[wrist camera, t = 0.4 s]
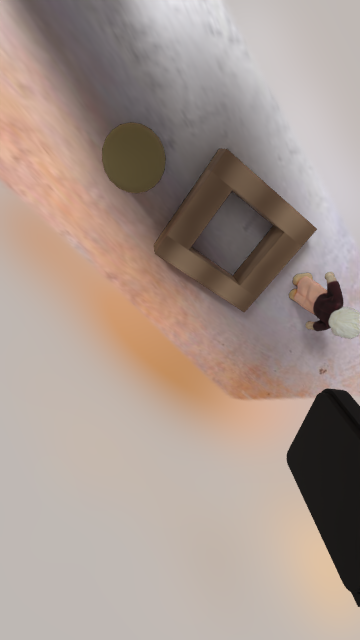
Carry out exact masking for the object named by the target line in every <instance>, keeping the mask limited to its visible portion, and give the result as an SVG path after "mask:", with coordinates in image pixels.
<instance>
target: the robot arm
mask: <svg viewBox="0 0 360 640" xmlns="http://www.w3.org/2000/svg"><path fill="white" fill-rule="evenodd" d="M287 463H288V465H289V468H290V470H291V472H292V474H293V476H294V479H295V481H296V483H297V485H298V487H299V489H300V492H301V494H302V496H303V498H304V500H305V502H306V504H307V507H308V509H309V511H310V513H311V515H312V517H313V519H314V522H315V524H316V526H317V528H318V530H319V532H320V534H321V537H322V539H323V541H324V543H325V545H326V548H327V549H328V552H329V554H330V556H331V558H332V560H333V563H334V565H335V567H336V569H337V571H338V573H339V575H340V578H341V580H342V582H343V584H344V586H345V587H346V588H347V589H348V590H349V591H350V592H351V593H352V595H353V597H354V599H355V601H356V603H357V605H358V607H360V406H359V405H358V404H357V402H356V401H355V400H354V399H353V398H352V397H351V395H350V394H349V393H348V392H347V391H344V390H336V389H325V390H323V391H322V392H321V393H319V394H318V395H317V396H316V398H315V400H314V402H313V404H312V406H311V408H310V410H309V412H308V414H307V416H306V417H305V420H304V421H303V423H302V425H301V427H300V429H299V431H298V433H297V435H296V437H295V439H294V441H293V442H292V444H291V446H290V448H289V450H288V453H287Z"/></svg>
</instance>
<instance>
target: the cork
mask: <svg viewBox="0 0 360 640" xmlns="http://www.w3.org/2000/svg"><path fill="white" fill-rule="evenodd" d="M165 161H166V158H165V152H164V147H163V145H162V143H161V141H160V139H159V137H158V136H157V135H156V134H155V133H154V132H153V131H152V130H151V129H149V128H148V127H146V126H144V125H142V124H138V123H132V122H130V123H125V124H121V125H119V126H118V127H116V128H115V129H113V130H112V131H111V132H110V134H109V135H108V136H107V138H106V139H105V142H104V145H103V148H102V162H103V166H104V170H105V172H106V174H107V175H108V177H109V179H110V181H112V182H113V183H114V184H115V185H116V186H117V187H118V188H120V189H122V190H124V191H126V192H130V193H141V192H146V191H148V190H149V189H151V188H153V187H154V186H155V185H156V184H157V183H158V182H159V180H160V179H161V177H162V174H163V172H164V170H165Z"/></svg>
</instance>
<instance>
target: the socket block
mask: <svg viewBox="0 0 360 640" xmlns="http://www.w3.org/2000/svg"><path fill="white" fill-rule="evenodd" d="M231 191H232V192H234V193H235V194H236V195H237V196H238V197H240V198H241V199H242V200H243V201H244V202H246V203H247V204H248V205H249V206H251V207H252V208H253V209H254V210H255V211H257V212H258V213H259V214H260V215H261V216H263V217H264V218H265V219H266V220H267V221H269V222H270V223H271V224H272V225H273V227H272V228H271V229H270V230H269V232H268V233H267V234H266V235H265V237H264V238H263V239H262V240H261V242H260V243H259V244H258V245H257V246H256V248H255V249H254V250H253V251H252V253H251V254H250V255H249V256H248V258H247V259H246V260H245V261H244V262H243V264H242V265H241V266H240V267H239V269H238V270H237V271H236V272H235V274H234V275H233V276H232V275H231V274H229V273H228V272H227V271H225V270H224V269H222V268H221V267H219V266H218V265H217V264H215V263H214V262H212V261H211V260H209V259H208V258H207V257H205V256H204V255H202V254H201V253H199V252H198V251H197V250H195V249H194V248H192V247H191V246H192V245H193V244H194V242H195V241H196V239H197V238H198V237H199V235H200V234H201V233H202V231H203V230H204V228H205V227H206V226H207V224H208V223H209V222H210V220H211V219H212V217H213V216H214V215H215V213H216V212H217V211H218V209H219V208H220V207H221V205H222V204H223V202H224V201H225V200H226V198H227V197H228V196H229V194H230V193H231ZM316 230H317V228H315V227H314V226H313V225H312V224H311V223H310V222H309V221H308V220H306V219H305V218H304V217H303V216H302V215H301V214H300V213H299V212H297V211H296V210H295V209H294V208H293V207H292V206H291V205H290V204H288V203H287V202H286V201H285V200H284V199H283V198H282V197H281V196H279V195H278V194H277V193H276V192H275V191H274V190H273V189H272V188H270V187H269V186H268V185H267V184H266V183H265V182H264V181H263V180H261V179H260V178H259V177H258V176H257V175H256V174H255V173H253V172H252V171H251V170H250V169H249V168H248V167H247V166H246V165H244V164H243V163H242V162H241V161H240V160H239V159H238V158H237V157H235V156H234V155H233V154H232V153H231V152H230V151H229V150H228V149H219V150H218V151H217V153H216V154H215V156H214V157H213V159H212V160H211V162H210V163H209V164H208V166H207V167H206V169H205V170H204V172H203V173H202V175H201V176H200V178H199V179H198V181H197V182H196V184H195V185H194V187H193V188H192V190H191V191H190V192H189V194H188V195H187V197H186V198H185V200H184V201H183V203H182V204H181V206H180V207H179V209H178V210H177V212H176V213H175V215H174V216H173V218H172V219H171V220H170V222H169V223H168V225H167V226H166V228H165V229H164V231H163V232H162V234H161V235H160V237H159V238H158V240H157V241H156V243H155V244H154V252H155V254H156V255H158V256H159V257H161V258H162V259H164V260H165V261H167V262H168V263H170V264H171V265H173V266H174V267H176V268H177V269H179V270H180V271H182V272H183V273H185V274H187V275H188V276H190V277H191V278H193V279H194V280H196V281H197V282H199V283H200V284H202V285H203V286H205V287H206V288H208V289H209V290H211V291H212V292H214V293H215V294H217V295H218V296H220V297H222V298H223V299H225V300H226V301H228V302H229V303H231V304H232V305H234V306H235V307H237V308H238V309H240V310H241V311H243V312H245V311H246V310H247V309H248V308H249V307H250V306H251V304H252V303H253V302H254V301H255V300H256V299H257V297H258V296H259V295H260V294H261V293H262V292H263V291H264V289H265V288H266V287H267V286H268V285H269V284H270V283H271V281H272V280H273V279H274V278H275V277H276V276H277V275H278V273H279V272H280V271H281V270H282V269H283V268H284V266H285V265H286V264H287V263H288V262H289V261H290V260H291V258H292V257H293V256H294V255H295V254H296V253H297V252H298V250H299V249H300V248H301V247H302V246H303V245H304V244H305V242H306V241H307V240H308V239H309V238H310V237H311V236H312V234H313V233H314V232H315V231H316Z"/></svg>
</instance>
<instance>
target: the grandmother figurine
mask: <svg viewBox="0 0 360 640" xmlns="http://www.w3.org/2000/svg"><path fill="white" fill-rule="evenodd" d="M325 279H326V280H327V290H326V289H324V288H323V287H322V286H321V285H320V284H318V283H317V282H315V281H314V280H313V278H312V275H311V274H310V273H303V274H297V275H295V276H294V278H293V284H294V285H297V289H293V290H292V291H291V292H290V294H289V298H290V299H292V300H293V301H295V302H297V303H298V304H299V305H300V306H302V307H303V308H304V309H306V310H308V311H309V312H311V313H313V314H314V315H316V316H317V318H319V319H320V320H319V321H316V322H311V321H309V322H307V323H306V328H307V329H312V330H316V331H322V330H327V329H329V328H331V330H332V332H333V334H334V335H336V336H340V337H343V338H348V339H352V338H354V337H356V336H358V335H359V334H360V313H359V312H358V311H357V310H355V309H352V308H348V307H345V308H343V297H342V292H341V289H340V285H339V283H338V281H337V280H336V278H335V277H334V273H332V272H328V273H326V274H325Z"/></svg>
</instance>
